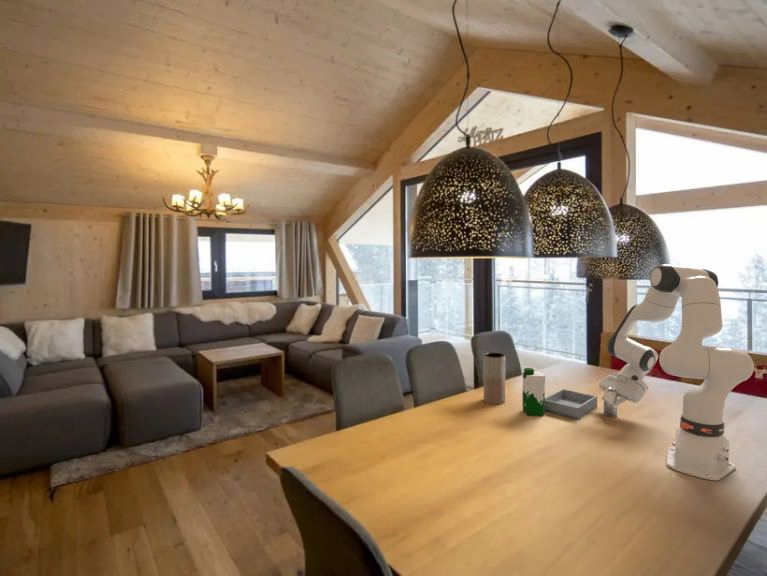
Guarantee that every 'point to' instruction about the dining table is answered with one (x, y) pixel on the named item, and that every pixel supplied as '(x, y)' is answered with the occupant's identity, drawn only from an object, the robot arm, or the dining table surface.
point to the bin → (570, 403)
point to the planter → (494, 378)
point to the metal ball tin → (610, 402)
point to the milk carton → (533, 392)
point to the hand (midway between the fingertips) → (609, 402)
